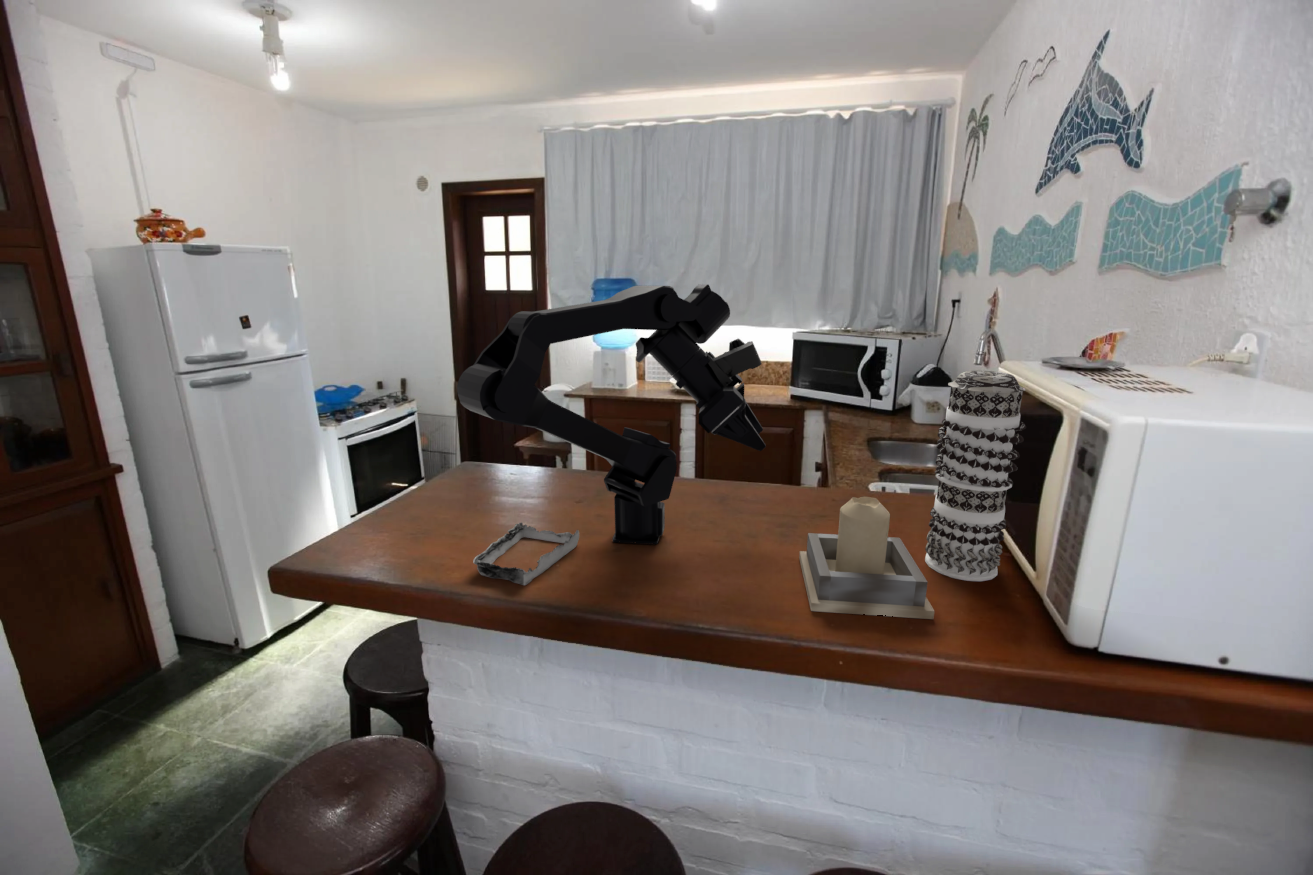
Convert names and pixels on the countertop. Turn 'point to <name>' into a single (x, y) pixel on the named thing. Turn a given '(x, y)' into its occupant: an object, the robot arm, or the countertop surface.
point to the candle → (862, 536)
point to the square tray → (864, 582)
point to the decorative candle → (974, 475)
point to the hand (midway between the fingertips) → (762, 439)
